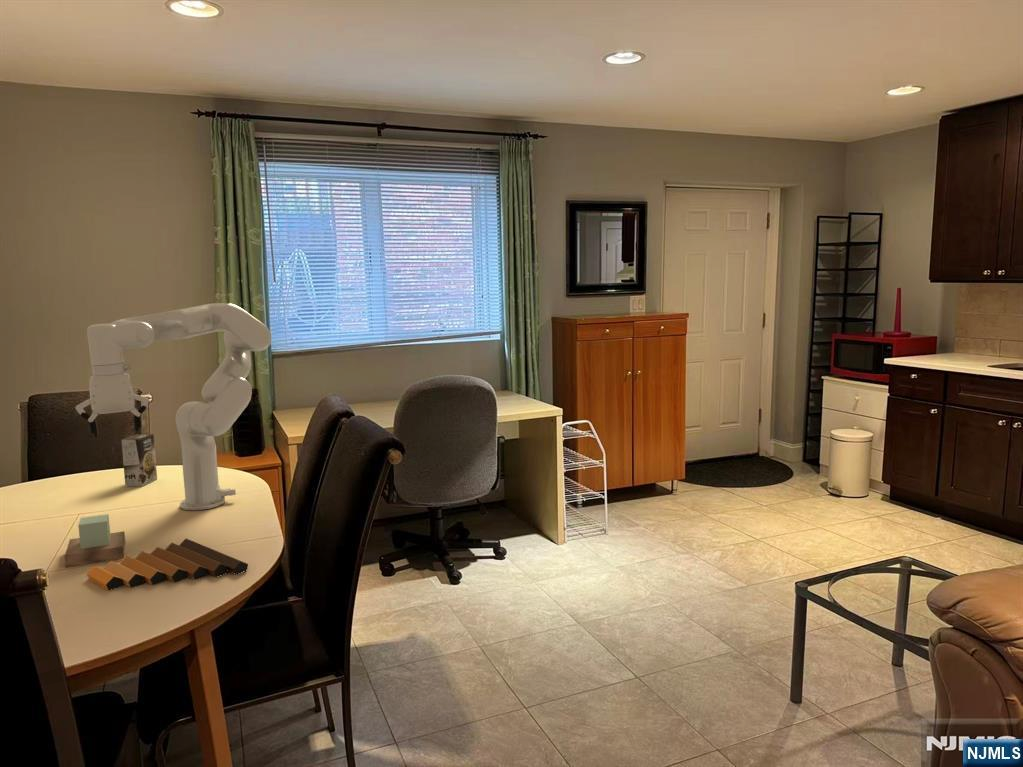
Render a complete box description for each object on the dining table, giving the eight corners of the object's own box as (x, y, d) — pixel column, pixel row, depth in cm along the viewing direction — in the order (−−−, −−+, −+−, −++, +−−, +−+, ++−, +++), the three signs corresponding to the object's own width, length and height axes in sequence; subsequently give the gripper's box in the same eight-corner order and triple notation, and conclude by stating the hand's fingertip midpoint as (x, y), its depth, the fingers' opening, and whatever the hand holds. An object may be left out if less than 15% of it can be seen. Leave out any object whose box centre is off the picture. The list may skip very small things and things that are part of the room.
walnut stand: (125, 542, 182) (124, 531, 181) (123, 558, 171) (122, 546, 170) (71, 550, 176) (70, 539, 176) (65, 567, 166) (64, 555, 165)
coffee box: (143, 486, 232) (139, 439, 230) (124, 486, 232) (120, 439, 230) (158, 479, 241) (154, 433, 239) (140, 479, 241) (136, 433, 239)
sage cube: (110, 536, 177) (108, 514, 176) (109, 544, 172) (106, 521, 171) (83, 540, 174) (80, 517, 174) (80, 548, 169) (78, 525, 168)
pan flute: (248, 572, 163) (193, 549, 178) (247, 558, 162) (192, 536, 178) (138, 612, 143) (87, 582, 158) (137, 597, 143) (85, 568, 158)
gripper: (144, 365, 193) (152, 425, 196) (71, 372, 185) (80, 434, 188) (145, 368, 186) (153, 431, 189) (69, 375, 178) (78, 440, 181)
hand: (116, 432), depth 189 cm, fingers open, 9 cm apart
